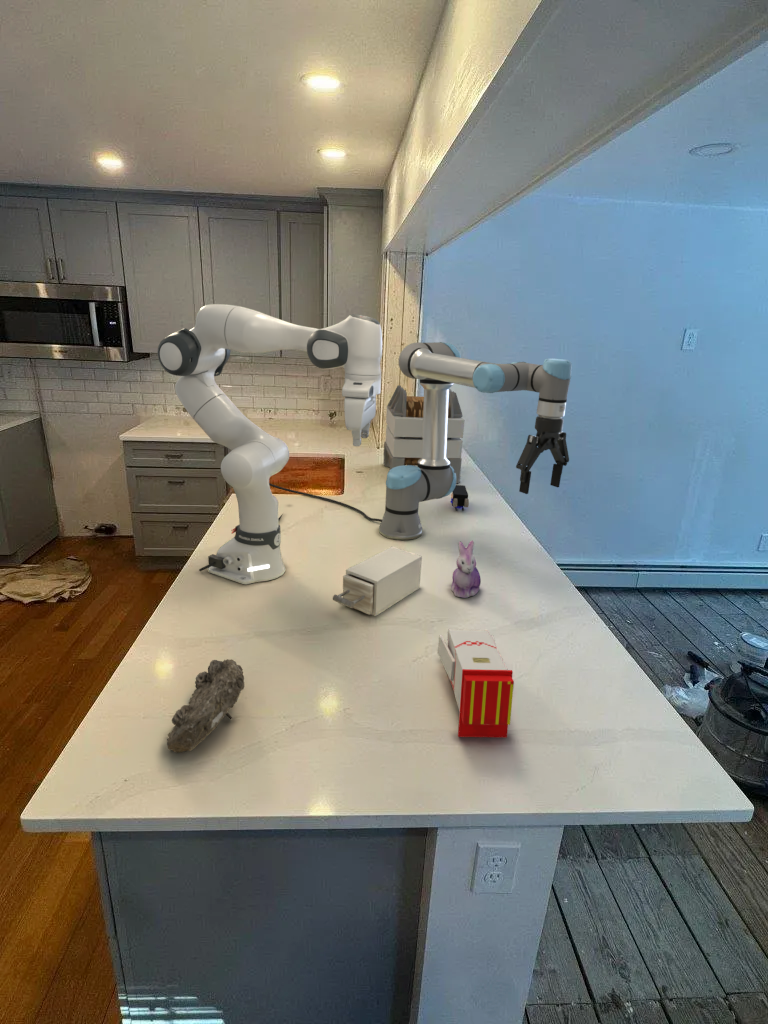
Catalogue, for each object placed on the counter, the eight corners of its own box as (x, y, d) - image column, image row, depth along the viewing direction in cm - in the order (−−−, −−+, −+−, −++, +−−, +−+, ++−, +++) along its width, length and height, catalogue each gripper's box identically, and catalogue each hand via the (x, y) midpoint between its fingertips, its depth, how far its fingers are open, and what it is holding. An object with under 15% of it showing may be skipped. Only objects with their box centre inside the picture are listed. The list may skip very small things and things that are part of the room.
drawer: (355, 624, 140) (355, 595, 137) (327, 612, 145) (327, 583, 142) (412, 588, 159) (414, 561, 157) (386, 578, 164) (387, 552, 162)
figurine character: (468, 516, 224) (463, 500, 237) (471, 498, 221) (465, 483, 234) (452, 515, 224) (447, 499, 237) (453, 498, 220) (449, 482, 234)
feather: (290, 508, 223) (292, 504, 223) (272, 532, 197) (275, 527, 196) (286, 505, 223) (289, 501, 223) (268, 529, 197) (271, 525, 196)
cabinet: (375, 616, 146) (377, 581, 143) (345, 603, 152) (345, 569, 148) (419, 588, 162) (422, 555, 158) (390, 577, 167) (392, 546, 164)
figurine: (461, 602, 155) (467, 551, 150) (441, 586, 163) (445, 537, 158) (489, 595, 159) (495, 546, 154) (468, 580, 167) (473, 533, 162)
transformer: (382, 463, 289) (386, 382, 275) (445, 464, 293) (451, 384, 279) (390, 482, 257) (394, 392, 243) (460, 483, 261) (468, 394, 247)
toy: (488, 613, 130) (523, 677, 101) (484, 667, 133) (517, 744, 104) (435, 612, 130) (455, 676, 101) (432, 666, 133) (451, 743, 103)
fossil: (192, 660, 117) (244, 628, 112) (224, 691, 120) (276, 661, 115) (142, 746, 98) (202, 712, 93) (182, 779, 101) (242, 748, 96)
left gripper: (358, 380, 148) (357, 432, 152) (340, 390, 129) (339, 449, 133) (382, 381, 147) (380, 434, 151) (367, 391, 128) (365, 451, 132)
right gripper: (530, 422, 148) (520, 499, 155) (589, 415, 162) (577, 486, 169) (509, 417, 153) (500, 491, 161) (567, 411, 167) (556, 480, 175)
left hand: (360, 441), depth 142 cm, fingers open, 8 cm apart
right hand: (539, 489), depth 165 cm, fingers open, 13 cm apart
